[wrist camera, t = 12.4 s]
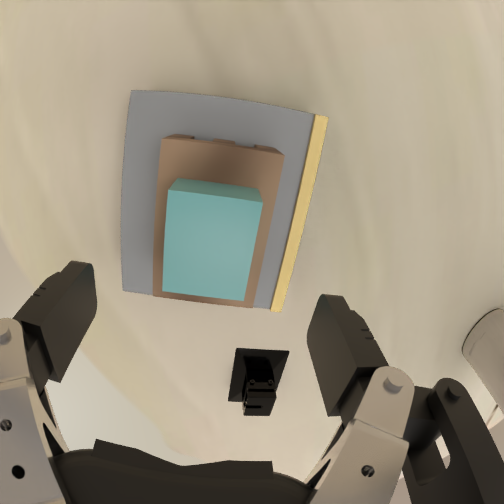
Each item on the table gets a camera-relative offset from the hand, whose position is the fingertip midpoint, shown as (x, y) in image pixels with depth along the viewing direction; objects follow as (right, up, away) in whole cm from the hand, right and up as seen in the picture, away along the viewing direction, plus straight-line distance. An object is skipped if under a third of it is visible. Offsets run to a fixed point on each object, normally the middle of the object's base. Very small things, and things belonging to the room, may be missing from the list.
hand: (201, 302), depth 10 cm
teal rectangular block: (0, +3, +5) cm, 6 cm away
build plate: (+2, -12, +22) cm, 25 cm away
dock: (-1, +6, +12) cm, 14 cm away
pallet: (-1, +4, +9) cm, 10 cm away
